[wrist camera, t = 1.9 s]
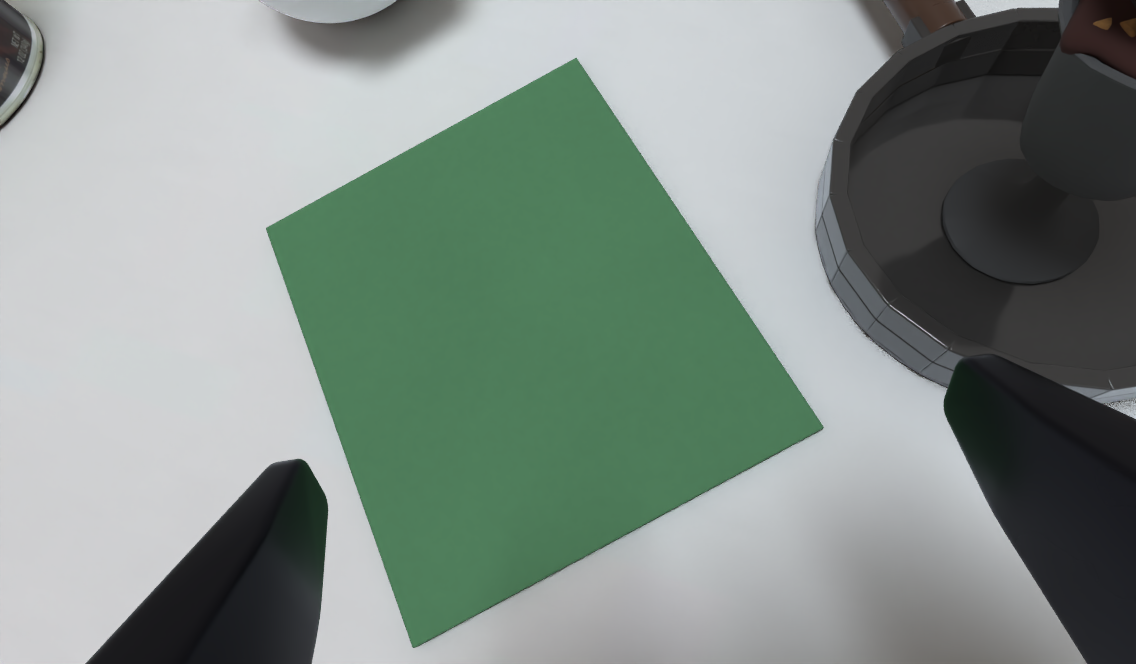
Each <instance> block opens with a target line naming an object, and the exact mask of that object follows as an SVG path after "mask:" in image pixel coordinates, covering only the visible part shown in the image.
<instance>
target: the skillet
mask: <svg viewBox="0 0 1136 664" xmlns="http://www.w3.org/2000/svg"><path fill="white" fill-rule="evenodd" d="M1058 9H1059V8H1017V9H1009V10H1005V11H1001V12H997V13H992V14H988V15H984V16H980V17H975V18H971V19H967V20H963V21H960V22H957V23H954V24H951V25H948V26H946V27H943V28H941V29H939V30H937V31H935V32H933V33H931V34H929V35H927V36H925V37H924V38H922V39H920V40H918V41H916V42H914V43H912V44H910V45H908V46H906V47H905V48H903V49H901V50H899V51H898V52H896V53H895V54H894V55H893V56H892V57H891V58H890V59H889V60H888V61H887V62H886V63H885V64H884V65H883V66H882V67H881V68H880V69H879V70H878V71H877V72H876V73H875V74H874V75H873V76H872V77H871V78H870V79H869V80H868V81H867V82H866V83H865V84H864V85H863V86H862V87H861V88H860V89H858V90H857V92H856V93H855V95H854V97H853V99H852V102H851V104H850V106H849V108H848V110H847V112H846V114H845V116H844V118H843V120H842V122H841V124H840V126H839V129H838V131H837V133H836V135H835V137H834V139H833V142H832V145H831V148H830V151H829V154H828V157H827V160H826V163H825V166H824V169H823V172H822V175H821V178H820V181H819V188H818V198H817V206H816V228H815V230H816V235H817V243H818V247H819V251H820V255H821V259H822V263H823V266H824V268H825V271H826V273H827V276H828V278H829V281H830V283H831V285H832V287H833V289H834V291H835V292H836V294H837V296H838V297H839V299H840V301H841V303H842V304H843V306H844V307H845V309H846V310H847V311H848V312H849V314H850V315H851V316H852V318H853V319H854V320H855V322H856V323H857V324H858V325H859V326H860V327H861V328H862V329H863V330H864V331H865V332H866V333H867V334H868V335H869V336H870V337H871V338H872V339H873V340H874V341H875V342H876V343H877V344H878V345H879V346H880V347H881V348H883V349H884V350H885V351H886V352H888V353H889V354H890V355H892V356H893V357H894V358H895V359H897V360H898V361H899V362H901V363H903V364H904V365H906V366H907V367H909V368H911V369H912V370H914V371H916V372H917V373H919V374H920V375H922V376H924V377H926V378H928V379H930V380H932V381H934V382H937V383H939V384H941V385H943V386H945V387H947V388H948V386H949V383H950V380H951V377H952V374H953V371H954V368H955V366H956V363H957V362H958V361H959V360H960V359H961V358H964V357H968V356H975V355H981V354H996V355H998V356H1001V357H1003V358H1005V359H1007V360H1009V361H1011V362H1014V363H1016V364H1018V365H1020V366H1022V367H1024V368H1026V369H1029V370H1031V371H1033V372H1035V373H1037V374H1039V375H1041V376H1044V377H1046V378H1048V379H1050V380H1052V381H1054V382H1057V383H1059V384H1061V385H1063V386H1065V387H1067V388H1069V389H1072V390H1074V391H1076V392H1078V393H1080V394H1082V395H1085V396H1087V397H1089V398H1091V399H1093V400H1095V401H1097V402H1100V403H1102V404H1104V403H1108V402H1114V401H1121V400H1127V399H1133V398H1136V196H1135V197H1130V198H1126V199H1122V200H1117V201H1101V200H1094V199H1092V200H1093V202H1094V204H1095V206H1096V209H1097V211H1098V215H1099V240H1098V242H1097V244H1096V246H1095V249H1094V251H1093V252H1092V254H1091V255H1090V257H1089V258H1088V260H1087V262H1085V263H1084V264H1083V265H1082V266H1080V267H1079V268H1078V269H1077V270H1075V271H1074V272H1072V273H1070V274H1068V275H1067V276H1065V277H1063V278H1060V279H1056V280H1053V281H1049V282H1043V283H1037V284H1025V283H1014V282H1008V281H1002V280H999V279H997V278H994V277H992V276H989V275H987V274H985V273H983V272H981V271H979V270H977V269H975V268H974V267H972V266H971V265H970V264H969V263H968V262H966V261H965V260H964V259H963V258H962V257H961V256H960V255H959V254H958V253H957V252H956V251H955V249H954V248H953V247H952V245H951V243H950V241H949V239H948V237H947V235H946V232H945V229H944V227H943V213H942V212H943V205H944V200H945V198H946V196H947V194H948V192H949V190H950V189H951V187H952V186H953V184H954V183H955V182H956V180H957V179H959V178H960V177H961V176H963V175H964V174H965V173H966V172H968V171H970V170H972V169H973V168H975V167H977V166H979V165H982V164H985V163H989V162H992V161H997V160H1002V159H1023V160H1026V159H1025V157H1024V155H1023V153H1022V151H1021V146H1020V134H1021V128H1022V123H1023V120H1024V118H1025V115H1026V112H1027V109H1028V106H1029V103H1030V100H1031V98H1032V95H1033V93H1034V91H1035V89H1036V87H1037V84H1038V82H1039V81H1040V79H1041V77H1042V75H1043V73H1044V71H1045V69H1046V67H1047V65H1048V63H1049V61H1050V59H1051V57H1052V55H1053V53H1054V51H1055V50H1056V48H1057V46H1058V44H1059V42H1060V40H1061V33H1060V27H1059V21H1058ZM964 37H971V39H970V41H969V43H968V45H967V47H966V48H965V50H964V52H963V54H962V56H961V58H960V59H957V60H954V61H952V62H949V63H946V64H943V65H941V66H938V67H935V65H936V63H937V61H938V59H939V57H940V55H941V53H942V51H943V49H944V47H945V46H946V45H948V44H949V43H951V42H953V41H955V40H956V39H959V38H964ZM934 67H935V68H934Z"/></svg>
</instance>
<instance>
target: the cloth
mask: <svg viewBox="0 0 1136 664" xmlns="http://www.w3.org/2000/svg"><path fill="white" fill-rule="evenodd" d="M266 230H267V233H268V236H269V238H270V241H271V244H272V247H273V250H274V253H275V256H276V258H277V261H278V264H279V267H280V270H281V273H282V276H283V278H284V281H285V284H286V287H287V290H288V293H289V296H290V298H291V301H292V304H293V307H294V310H295V313H296V315H297V318H298V321H299V324H300V327H301V330H302V333H303V335H304V338H305V341H306V344H307V347H308V350H309V353H310V355H311V358H312V361H313V364H314V367H315V370H316V373H317V375H318V378H319V381H320V384H321V387H322V390H323V393H324V395H325V398H326V401H327V404H328V407H329V410H330V413H331V415H332V418H333V421H334V424H335V427H336V430H337V433H338V435H339V438H340V441H341V444H342V447H343V450H344V453H345V455H346V458H347V461H348V464H349V467H350V470H351V473H352V475H353V478H354V481H355V484H356V487H357V490H358V493H359V495H360V498H361V501H362V504H363V507H364V510H365V513H366V515H367V518H368V521H369V524H370V527H371V530H372V533H373V535H374V538H375V541H376V544H377V547H378V550H379V552H380V555H381V558H382V561H383V564H384V567H385V570H386V572H387V575H388V578H389V581H390V584H391V587H392V590H393V592H394V595H395V598H396V601H397V604H398V607H399V610H400V612H401V615H402V618H403V621H404V624H405V627H406V630H407V632H408V635H409V638H410V641H411V644H412V647H413V648H415V647H417V646H419V645H421V644H423V643H425V642H427V641H429V640H431V639H432V638H434V637H436V636H438V635H440V634H442V633H444V632H445V631H447V630H449V629H451V628H453V627H455V626H457V625H458V624H460V623H462V622H464V621H466V620H468V619H470V618H471V617H473V616H475V615H477V614H479V613H481V612H483V611H485V610H486V609H488V608H490V607H492V606H494V605H496V604H498V603H499V602H501V601H503V600H505V599H507V598H509V597H511V596H512V595H514V594H516V593H518V592H520V591H522V590H524V589H525V588H527V587H529V586H531V585H533V584H535V583H537V582H539V581H540V580H542V579H544V578H546V577H548V576H550V575H552V574H553V573H555V572H557V571H559V570H561V569H563V568H565V567H566V566H568V565H570V564H572V563H574V562H576V561H578V560H579V559H581V558H583V557H585V556H587V555H589V554H591V553H593V552H594V551H596V550H598V549H600V548H602V547H604V546H606V545H607V544H609V543H611V542H613V541H615V540H617V539H619V538H620V537H622V536H624V535H626V534H628V533H630V532H632V531H633V530H635V529H637V528H639V527H641V526H643V525H645V524H647V523H648V522H650V521H652V520H654V519H656V518H658V517H660V516H661V515H663V514H665V513H667V512H669V511H671V510H673V509H674V508H676V507H678V506H680V505H682V504H684V503H686V502H687V501H689V500H691V499H693V498H695V497H697V496H699V495H701V494H702V493H704V492H706V491H708V490H710V489H712V488H714V487H715V486H717V485H719V484H721V483H723V482H725V481H727V480H728V479H730V478H732V477H734V476H736V475H738V474H740V473H741V472H743V471H745V470H747V469H749V468H751V467H753V466H755V465H756V464H758V463H760V462H762V461H764V460H766V459H768V458H769V457H771V456H773V455H775V454H777V453H779V452H781V451H782V450H784V449H786V448H788V447H790V446H792V445H794V444H795V443H797V442H799V441H801V440H803V439H805V438H807V437H809V436H810V435H812V434H814V433H816V432H818V431H820V430H822V429H823V428H824V427H823V425H822V424H821V422H820V421H819V419H818V418H817V416H816V415H815V413H814V412H813V410H812V409H811V407H810V406H809V404H808V403H807V401H806V400H805V399H804V397H803V396H802V394H801V393H800V391H799V390H798V388H797V387H796V385H795V384H794V382H793V381H792V379H791V378H790V376H789V375H788V373H787V372H786V370H785V369H784V367H783V366H782V364H781V363H780V361H779V360H778V358H777V357H776V355H775V354H774V352H773V351H772V349H771V348H770V346H769V345H768V343H767V342H766V340H765V339H764V337H763V336H762V334H761V333H760V331H759V330H758V328H757V327H756V325H755V324H754V322H753V321H752V319H751V318H750V316H749V315H748V313H747V312H746V310H745V309H744V307H743V306H742V304H741V303H740V301H739V300H738V298H737V297H736V295H735V294H734V293H733V291H732V290H731V288H730V287H729V285H728V284H727V282H726V281H725V279H724V278H723V276H722V275H721V273H720V272H719V270H718V269H717V267H716V266H715V264H714V263H713V261H712V260H711V258H710V257H709V255H708V254H707V252H706V251H705V249H704V248H703V246H702V245H701V243H700V242H699V240H698V239H697V237H696V236H695V234H694V233H693V231H692V230H691V228H690V227H689V225H688V224H687V222H686V221H685V219H684V218H683V216H682V215H681V213H680V212H679V210H678V209H677V207H676V206H675V204H674V203H673V201H672V200H671V198H670V197H669V195H668V194H667V192H666V191H665V190H664V188H663V187H662V185H661V184H660V182H659V181H658V179H657V178H656V176H655V175H654V173H653V172H652V170H651V169H650V167H649V166H648V164H647V163H646V161H645V160H644V158H643V157H642V155H641V154H640V152H639V151H638V149H637V148H636V146H635V145H634V143H633V142H632V140H631V139H630V137H629V136H628V134H627V133H626V131H625V130H624V128H623V127H622V125H621V124H620V122H619V121H618V119H617V118H616V116H615V115H614V113H613V112H612V110H611V109H610V107H609V106H608V104H607V103H606V101H605V100H604V98H603V97H602V95H601V94H600V92H599V91H598V89H597V88H596V86H595V85H594V84H593V82H592V81H591V79H590V78H589V76H588V75H587V73H586V72H585V70H584V69H583V67H582V66H581V64H580V63H579V61H578V60H577V58H575V59H573V60H571V61H570V62H568V63H566V64H564V65H562V66H560V67H559V68H557V69H555V70H553V71H551V72H549V73H548V74H546V75H544V76H542V77H540V78H539V79H537V80H535V81H533V82H531V83H529V84H528V85H526V86H524V87H522V88H520V89H519V90H517V91H515V92H513V93H511V94H509V95H508V96H506V97H504V98H502V99H500V100H498V101H497V102H495V103H493V104H491V105H489V106H488V107H486V108H484V109H482V110H480V111H478V112H477V113H475V114H473V115H471V116H469V117H468V118H466V119H464V120H462V121H460V122H458V123H457V124H455V125H453V126H451V127H449V128H447V129H446V130H444V131H442V132H440V133H438V134H437V135H435V136H433V137H431V138H429V139H427V140H426V141H424V142H422V143H420V144H418V145H417V146H415V147H413V148H411V149H409V150H407V151H406V152H404V153H402V154H400V155H398V156H396V157H395V158H393V159H391V160H389V161H387V162H386V163H384V164H382V165H380V166H378V167H376V168H375V169H373V170H371V171H369V172H367V173H366V174H364V175H362V176H360V177H358V178H356V179H355V180H353V181H351V182H349V183H347V184H346V185H344V186H342V187H340V188H338V189H336V190H335V191H333V192H331V193H329V194H327V195H325V196H324V197H322V198H320V199H318V200H316V201H315V202H313V203H311V204H309V205H307V206H305V207H304V208H302V209H300V210H298V211H296V212H295V213H293V214H291V215H289V216H287V217H285V218H284V219H282V220H280V221H278V222H276V223H274V224H273V225H271V226H269V227H267V228H266Z"/></svg>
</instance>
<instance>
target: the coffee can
mask: <svg viewBox="0 0 1136 664" xmlns="http://www.w3.org/2000/svg"><path fill="white" fill-rule="evenodd" d="M42 58H43V40H42V37H41V34H40V32H39V30H38V28H37V26H36V25H35V24H34V23H33V22H32V21H31V19H29V18H28V17H26V16H25V15H23V14H21V13H20V12H19V11H17V10H16V9H15V8H13V7H12V6H11V5H9V4H8V3H7V2H6V1H4V0H0V127H1V126H2V125H3V124H4V123H5V122H6V121H7V120H8V119H9V118H10V117H11V115H12V114H13V113H14V112H15V111H16V110H17V109H18V108H19V107H20V105H21V104H22V102H23V101H24V100H25V98H26V97H27V95H28V94H29V92H30V90H31V88H32V87H33V85H34V83H35V81H36V79H37V76H38V73H39V70H40V67H41V63H42Z"/></svg>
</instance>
